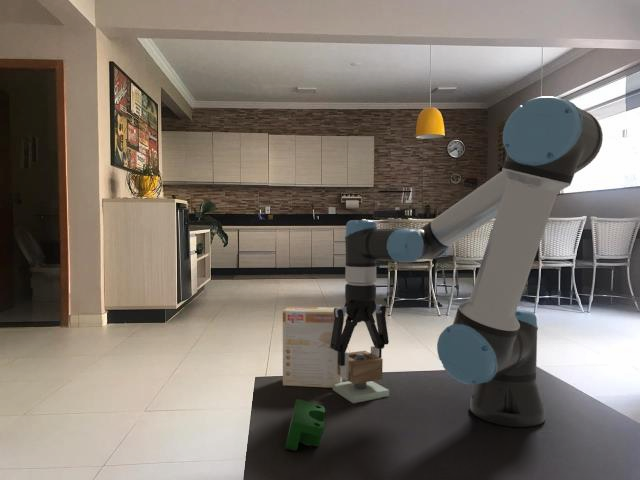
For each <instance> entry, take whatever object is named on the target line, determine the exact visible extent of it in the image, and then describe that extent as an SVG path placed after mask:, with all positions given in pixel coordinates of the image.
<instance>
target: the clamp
mask: <svg viewBox="0 0 640 480" xmlns="http://www.w3.org/2000/svg"><path fill="white" fill-rule="evenodd" d="M292 411H293V412H292V416H291V418H290V419H291V420H290V424H289V427H288V432H287V437H286V443H285V447H284V448H285V449H286V450H291V451H293V452H297V450H298V447H299V443H301V444H305V445H309V446H314V447H319V446H320V443H321V439H322V436H323V434H324V430H325V425H326V423H325V421H324V418H325V413H326V408H325V407H324V405H321V404H319V403H315V402H311V401H306V400H303V399H299V398H296V399H295V403H294V408H293V410H292Z"/></svg>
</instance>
